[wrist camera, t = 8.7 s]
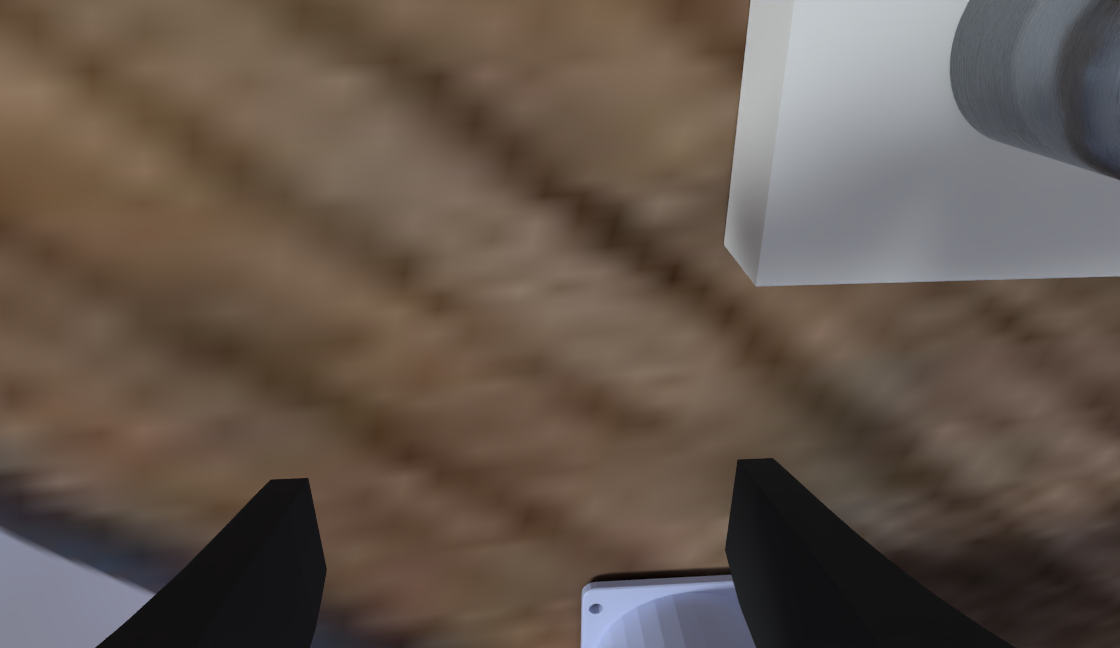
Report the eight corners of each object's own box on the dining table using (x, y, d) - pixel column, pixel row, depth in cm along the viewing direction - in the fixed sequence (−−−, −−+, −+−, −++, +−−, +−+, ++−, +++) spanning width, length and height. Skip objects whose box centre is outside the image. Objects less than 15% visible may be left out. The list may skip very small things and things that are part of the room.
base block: (1115, 235, 22) (1201, 273, 19) (723, 244, 21) (755, 286, 18) (1303, -270, 16) (1462, -316, 13) (781, -281, 15) (839, -331, 13)
